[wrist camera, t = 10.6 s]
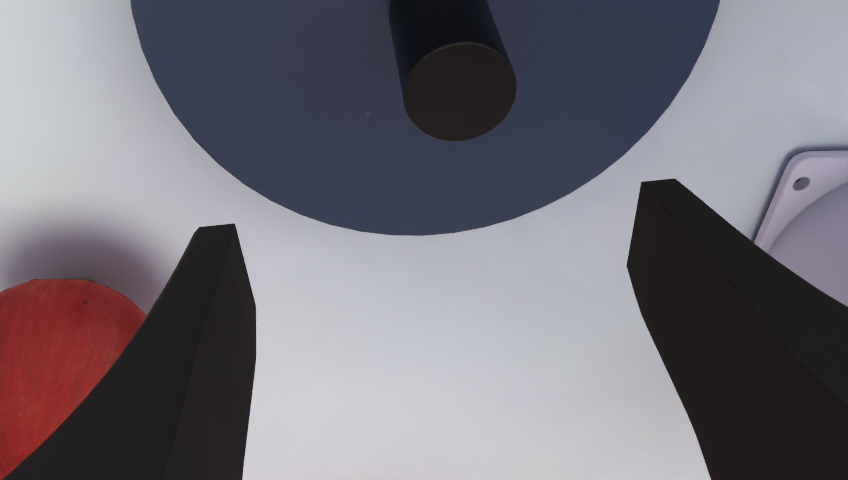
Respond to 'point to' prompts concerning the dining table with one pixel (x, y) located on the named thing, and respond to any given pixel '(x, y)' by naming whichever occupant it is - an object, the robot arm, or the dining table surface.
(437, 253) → the dining table surface
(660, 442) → the dining table surface
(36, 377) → the onion
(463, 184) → the lid
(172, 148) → the dining table surface
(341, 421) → the dining table surface
